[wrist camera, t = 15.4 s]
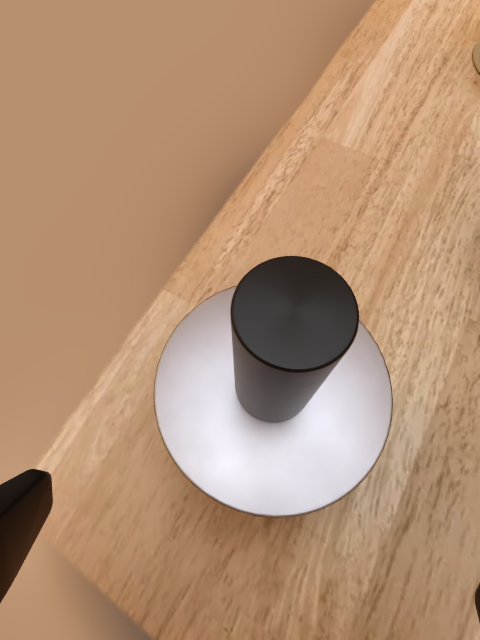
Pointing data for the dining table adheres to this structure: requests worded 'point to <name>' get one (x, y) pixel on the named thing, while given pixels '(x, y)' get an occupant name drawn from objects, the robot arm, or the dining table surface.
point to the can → (477, 56)
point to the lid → (275, 392)
